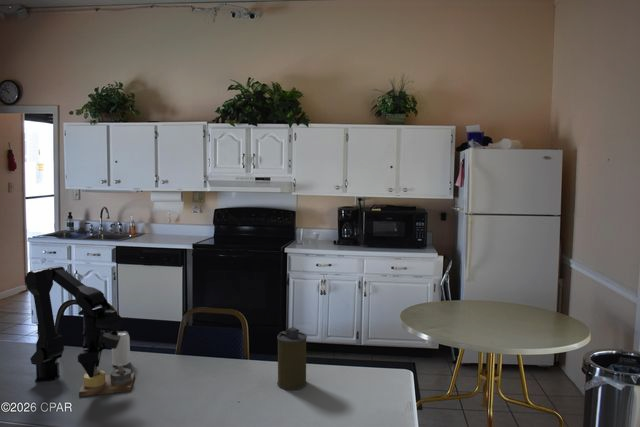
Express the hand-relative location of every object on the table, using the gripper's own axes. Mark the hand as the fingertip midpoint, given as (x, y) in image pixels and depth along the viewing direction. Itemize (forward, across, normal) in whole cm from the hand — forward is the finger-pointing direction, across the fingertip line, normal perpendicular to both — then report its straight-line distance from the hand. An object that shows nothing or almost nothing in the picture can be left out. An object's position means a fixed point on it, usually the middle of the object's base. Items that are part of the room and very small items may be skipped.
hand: (94, 371), depth 162 cm
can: (+6, +20, -6) cm, 22 cm away
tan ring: (+4, 0, 0) cm, 4 cm away
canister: (+6, -14, -67) cm, 69 cm away
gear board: (+6, 0, -4) cm, 7 cm away
